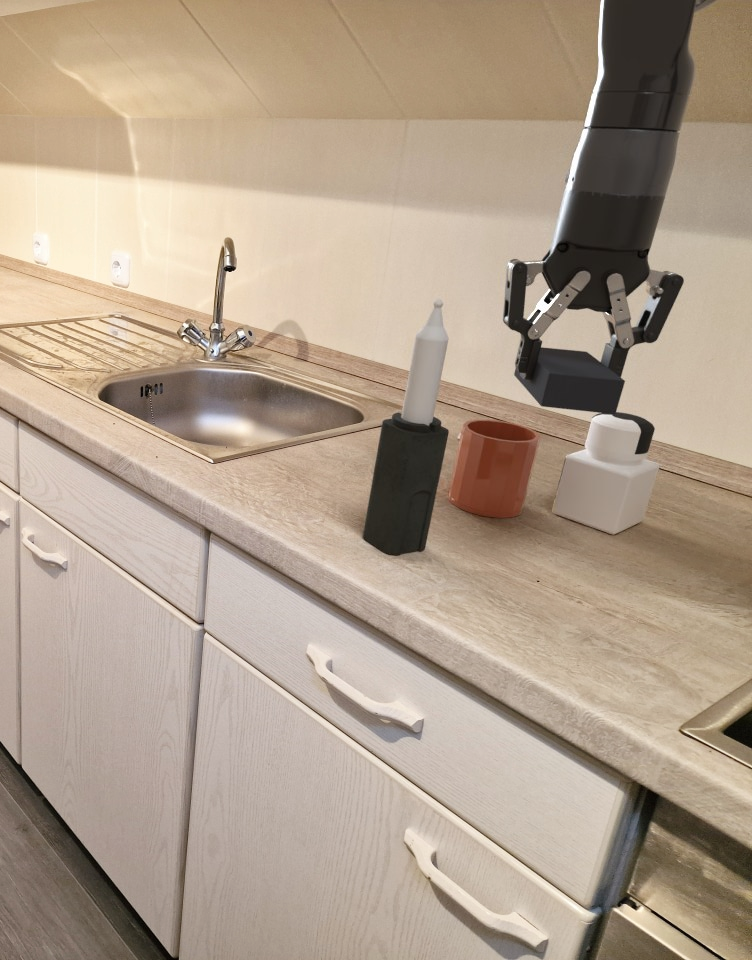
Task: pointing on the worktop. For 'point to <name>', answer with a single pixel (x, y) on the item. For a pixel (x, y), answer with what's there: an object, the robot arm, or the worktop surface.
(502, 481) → the cup
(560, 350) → the dark grey block
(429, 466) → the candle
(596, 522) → the medicine bottle
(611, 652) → the worktop surface
